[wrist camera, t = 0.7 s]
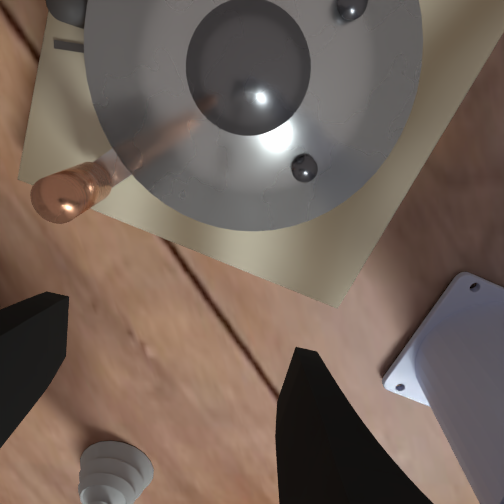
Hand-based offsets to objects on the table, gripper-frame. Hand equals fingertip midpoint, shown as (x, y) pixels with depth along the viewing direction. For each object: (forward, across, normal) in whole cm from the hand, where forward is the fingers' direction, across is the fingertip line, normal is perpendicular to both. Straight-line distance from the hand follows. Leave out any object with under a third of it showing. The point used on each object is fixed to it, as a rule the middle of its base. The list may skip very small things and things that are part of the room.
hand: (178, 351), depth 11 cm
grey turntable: (+7, +1, -7) cm, 10 cm away
